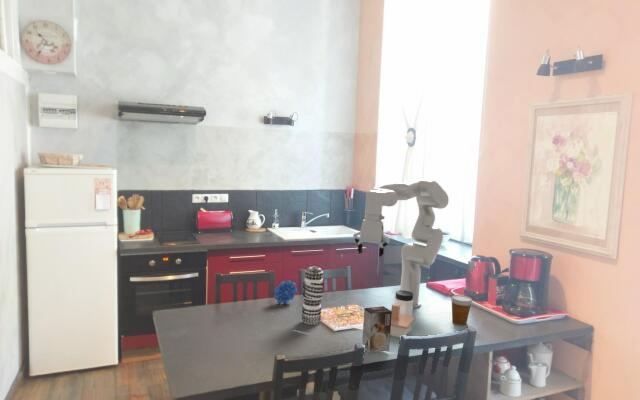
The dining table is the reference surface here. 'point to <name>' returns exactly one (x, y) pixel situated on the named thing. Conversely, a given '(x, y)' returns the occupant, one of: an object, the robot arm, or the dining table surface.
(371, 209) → the robot arm
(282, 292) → the grapes
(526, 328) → the dining table surface
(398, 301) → the jar
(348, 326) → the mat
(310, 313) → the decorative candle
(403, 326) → the lid
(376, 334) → the coffee box
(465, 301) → the disposable coffee cup
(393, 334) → the dish
